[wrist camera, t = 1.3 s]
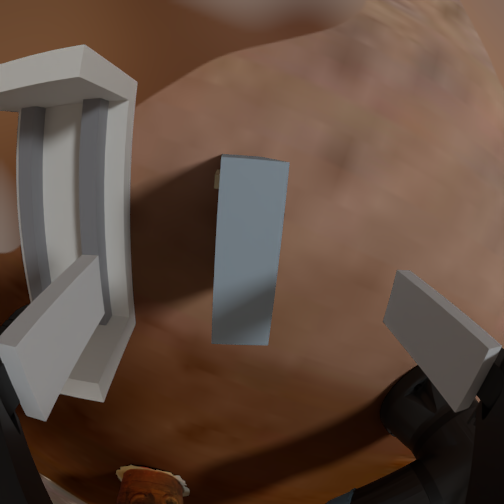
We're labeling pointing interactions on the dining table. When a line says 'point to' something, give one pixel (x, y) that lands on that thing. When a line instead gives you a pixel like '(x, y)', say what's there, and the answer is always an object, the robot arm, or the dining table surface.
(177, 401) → the dining table surface
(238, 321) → the sliding door panel
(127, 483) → the vessel
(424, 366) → the robot arm
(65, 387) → the door track
